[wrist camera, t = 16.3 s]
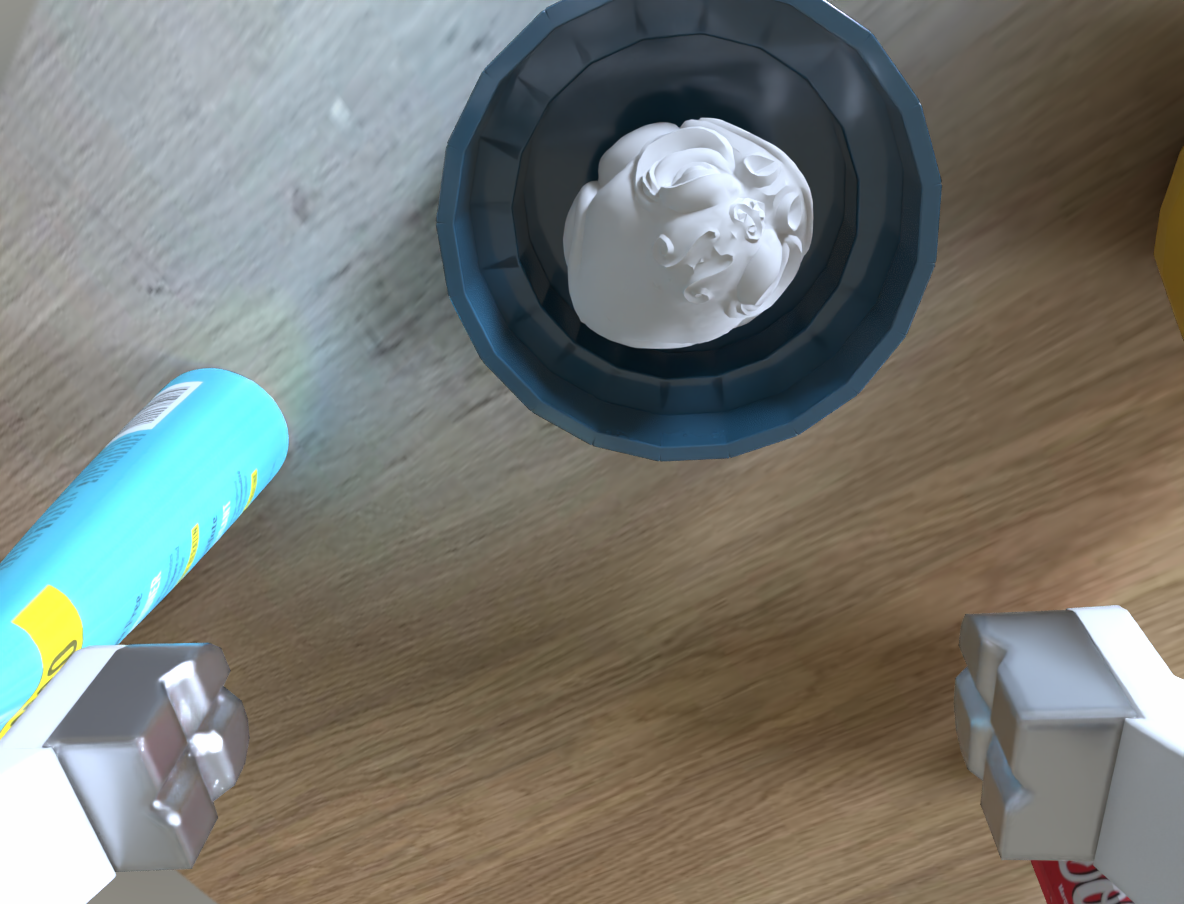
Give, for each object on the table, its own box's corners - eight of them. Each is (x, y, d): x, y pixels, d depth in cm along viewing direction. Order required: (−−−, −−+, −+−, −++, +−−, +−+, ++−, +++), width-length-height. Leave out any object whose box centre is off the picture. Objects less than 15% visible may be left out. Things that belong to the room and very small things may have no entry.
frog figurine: (836, 212, 28) (879, 285, 22) (651, 345, 31) (644, 444, 25) (716, 42, 26) (727, 70, 20) (530, 199, 29) (489, 266, 23)
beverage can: (1096, 611, 35) (1278, 898, 24) (1244, 713, 37) (1474, 1023, 26) (941, 736, 38) (1041, 1035, 28) (1082, 824, 40) (1227, 1137, 29)
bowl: (441, -13, 27) (395, -6, 22) (912, -64, 25) (961, -67, 21) (505, 400, 33) (478, 470, 28) (888, 380, 31) (922, 450, 27)
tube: (248, 528, 36) (-127, 1031, 19) (131, 465, 35) (-371, 935, 18) (328, 382, 33) (-39, 834, 16) (201, 309, 32) (-329, 706, 15)
